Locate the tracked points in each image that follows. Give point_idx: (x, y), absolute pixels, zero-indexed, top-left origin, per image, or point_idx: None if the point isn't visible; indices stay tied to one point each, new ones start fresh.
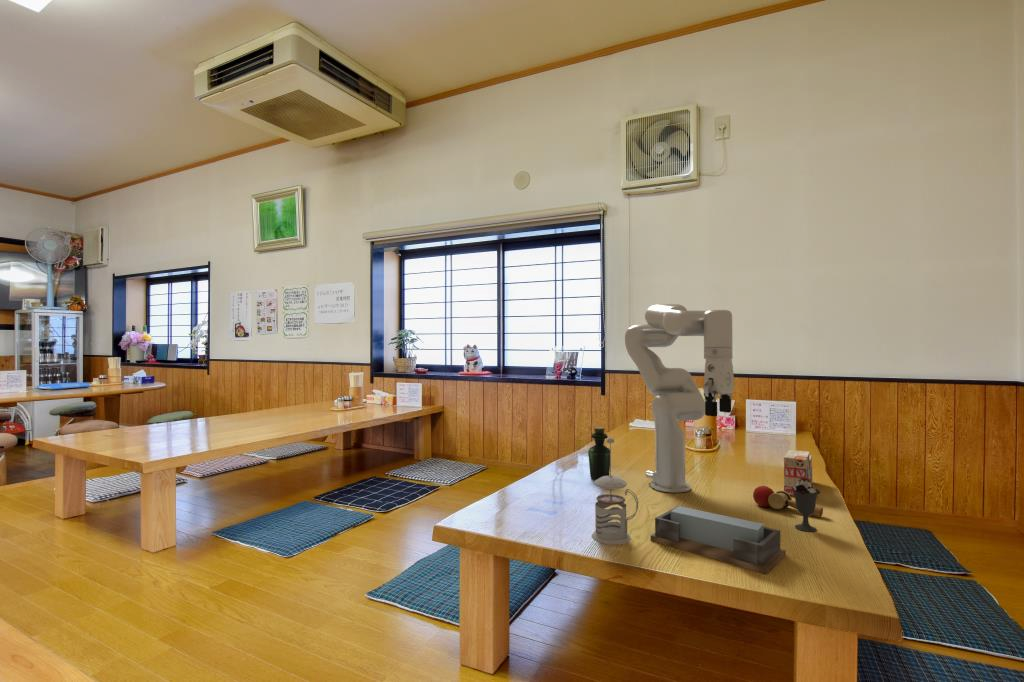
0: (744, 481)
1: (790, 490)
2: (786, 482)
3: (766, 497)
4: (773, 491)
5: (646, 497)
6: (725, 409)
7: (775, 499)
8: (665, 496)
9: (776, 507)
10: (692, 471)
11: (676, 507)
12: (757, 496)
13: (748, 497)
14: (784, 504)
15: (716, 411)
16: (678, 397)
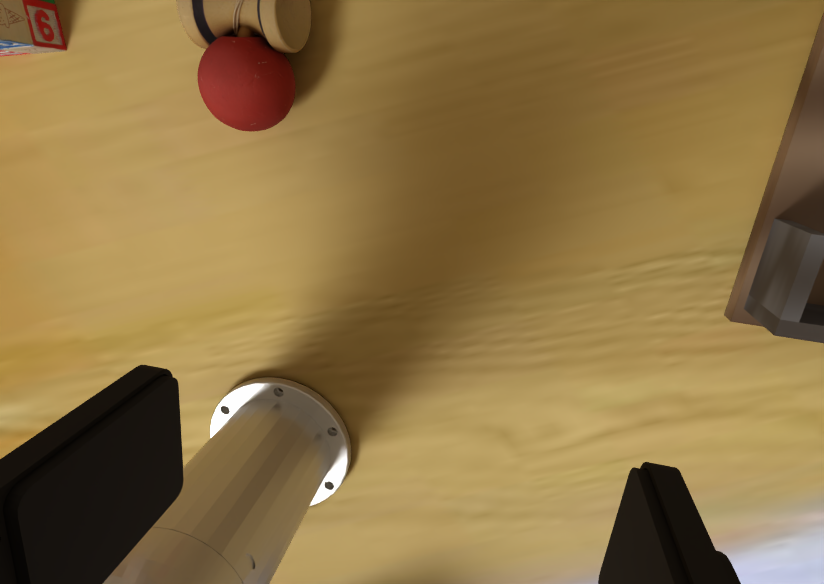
0: (15, 232)
1: (41, 19)
2: (16, 32)
3: (282, 61)
4: (220, 39)
5: (447, 478)
6: (159, 444)
7: (280, 19)
8: (394, 428)
9: (306, 16)
10: (39, 422)
11: (795, 335)
12: (286, 103)
13: (203, 167)
14: None
15: (695, 515)
16: None
